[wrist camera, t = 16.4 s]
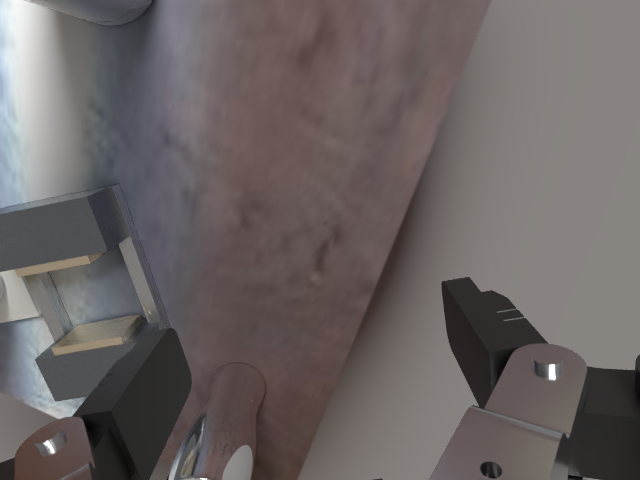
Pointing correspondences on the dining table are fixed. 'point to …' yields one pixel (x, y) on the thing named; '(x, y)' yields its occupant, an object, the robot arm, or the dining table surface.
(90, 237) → the bench vise
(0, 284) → the pill bottle
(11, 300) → the placing pad
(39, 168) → the dining table surface
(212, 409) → the beer glass
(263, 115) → the dining table surface
